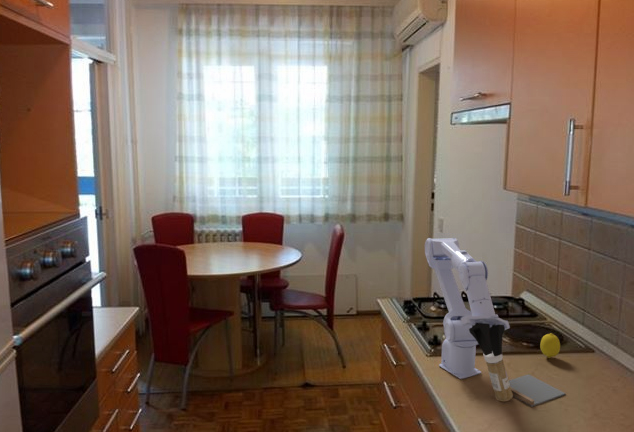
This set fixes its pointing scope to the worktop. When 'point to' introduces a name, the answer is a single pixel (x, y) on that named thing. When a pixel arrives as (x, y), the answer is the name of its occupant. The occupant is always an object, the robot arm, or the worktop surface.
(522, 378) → the mat
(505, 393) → the sprinkles bottle
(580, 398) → the worktop surface
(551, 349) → the lemon
